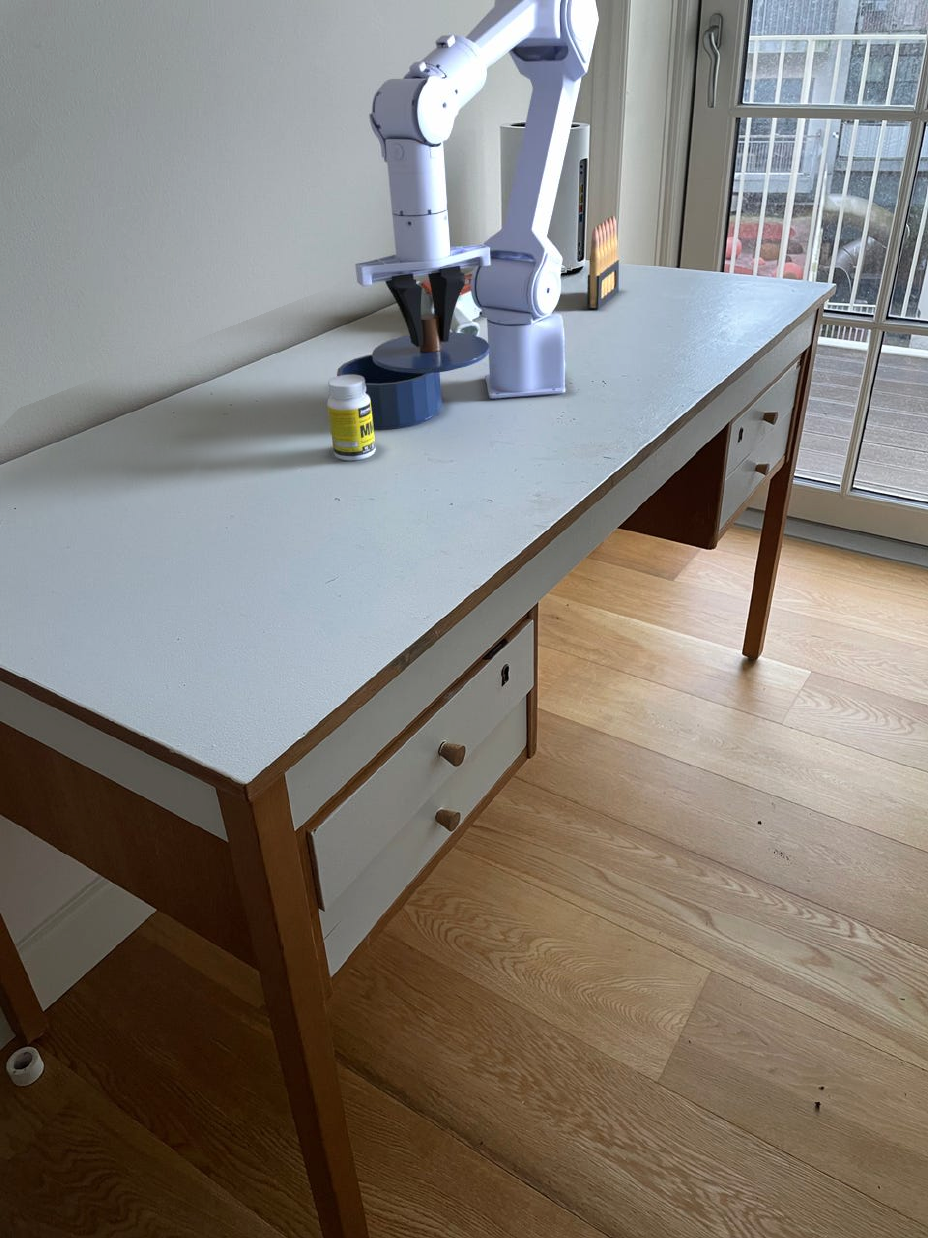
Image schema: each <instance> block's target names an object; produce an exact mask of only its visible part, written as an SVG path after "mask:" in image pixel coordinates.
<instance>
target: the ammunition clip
mask: <svg viewBox="0 0 928 1238" xmlns="http://www.w3.org/2000/svg"><path fill="white" fill-rule="evenodd" d="M588 269H589V274H587V292H586V293H587V294H586V295H587V297H586V298H587V299H586V301H587V303H586V304H587V305H586V309H587V310H593V311H594V310H598V311H600V309H601V308H603V307H604V306H605V305H606V304H607V303H609V302H610V300H612V299H613V298H614V297H615V296H616V295H617V294H618V293H619V289H620V288H619V287H620V286H619V284H620V280H619V279H620V260H619V259H618V236H617V221H616V218H615V215H614V214H612V215H611V216H609V217H608V218H607V219H605V220H604V221H601V223H600V224H599V223H598V224H597V226H594V227H593V229H592V233H591V240H590V253H589V267H588Z"/></svg>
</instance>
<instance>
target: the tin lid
mask: <svg viewBox="0 0 928 1238" xmlns="http://www.w3.org/2000/svg"><path fill="white" fill-rule="evenodd" d="M421 321H422V329H423V346H421V347H416V346H415V345H414V344H412V343H411V339H410V335H403V336H399V337H395V338H393V339H389V340H387V341H385V342H383V343H381V344H379V345H377V347H375V348H374V349H373V350H372V352H371V353H372V358H373V361H374V363H375V364H376V365H378V366H380V367H382V368H384V369H388V370H392V371H397V372H406V373H438V372H440V373H445V372H450V371H454V370H457V369H462V368H466V367H468V366H471V365H474V364H476V363H478V362H480V361H483V360H484V359H485V358H486V357H487V356H489V344H488V340H485V339H484V338H482V337H480V336H474V335H470V334H465V333H456V332H452V331H450V334H449V341H448V342H442V341H441V337H440V323H439V315H437V314H423V315H422V314H421Z"/></svg>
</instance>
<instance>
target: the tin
mask: <svg viewBox="0 0 928 1238" xmlns="http://www.w3.org/2000/svg"><path fill="white" fill-rule="evenodd" d="M341 375H360V376H362V377H364V379H365V385H366V392H365V393H366V394H367V395H368V396H369V397H370V401H371V410H372V419H373V428H374V430H395V429H396V430H397V429H403V428H410V427H412V426H413V427H414V426H418V425H420V424H423V423H426V422H428V421H430V420H432V419H434V418H436V417H437V416H439V415H440V414H441V412H442V410H443V400H442V398H443V397H442V388H441V387H442V386H441V372H438V373H406V372H397V371H392V370H388V369H384V368H382V367H380V366H378V365H376V364H375V363H374V361H373V358H372V354H366V355H363V356H359V357H356V358H353V359H351V360H349V361H347V362H344V363H343V364H342V365H340V366H339V367H338V368H337V372H336V377H337V376H341Z"/></svg>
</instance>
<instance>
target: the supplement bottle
mask: <svg viewBox="0 0 928 1238" xmlns="http://www.w3.org/2000/svg"><path fill="white" fill-rule="evenodd" d="M327 388H328V395H329V396H330V397H329V398H328V400H327V404H326V406H327V413H328V419H329V426H330V435H331V442H332V450H333V454H334V456H335V457H336V458H337V459H339V460H342V461H361V460H364V459H368V458H370V457H371V456H372V455H374V454H375V453H376V449H377V447H376V438H375V436H376V435H375V429H374V428H373V419H372V410H371V401H370V397H369V396H368V395H367V394H366V393H365V392H366V385H365V379H364V377H362V376H360V375H341V376H337V375H336V376H334V377H332V378H330V379H328V382H327Z"/></svg>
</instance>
